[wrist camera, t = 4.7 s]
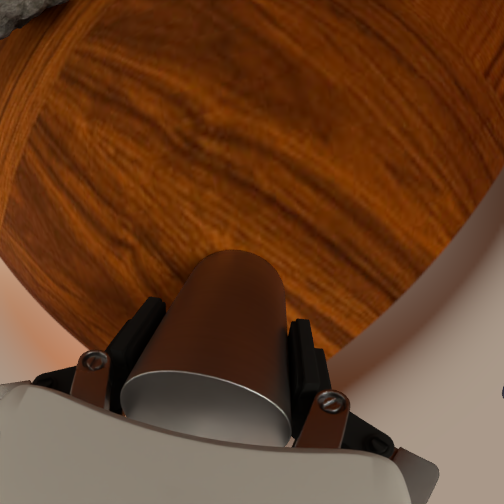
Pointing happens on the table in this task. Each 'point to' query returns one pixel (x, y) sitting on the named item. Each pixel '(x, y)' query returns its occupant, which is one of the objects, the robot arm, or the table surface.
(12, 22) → the decorative rock
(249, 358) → the silver metal cylinder
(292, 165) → the table surface
